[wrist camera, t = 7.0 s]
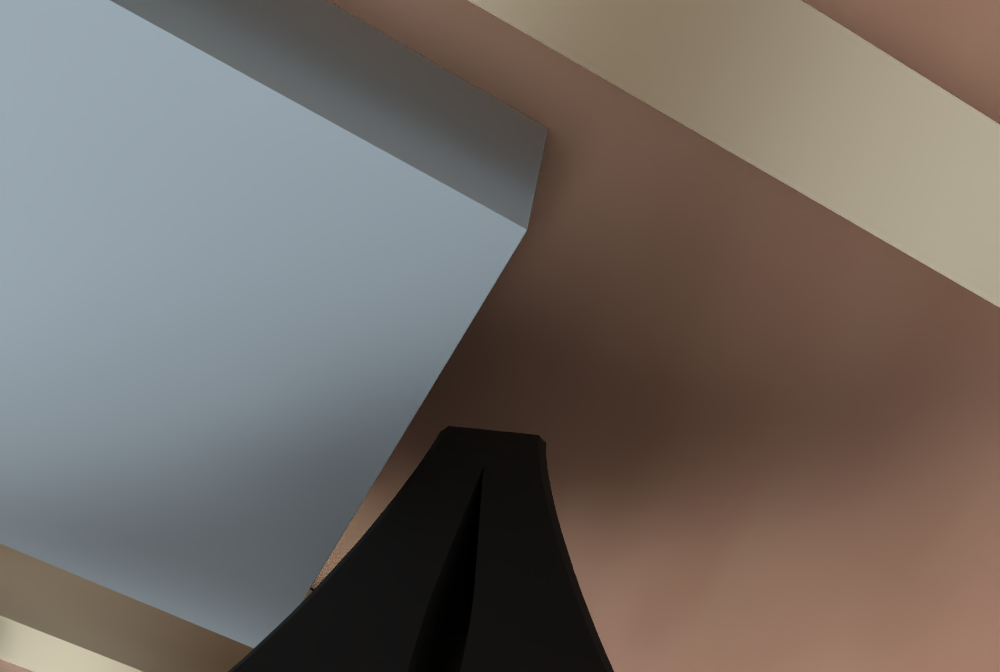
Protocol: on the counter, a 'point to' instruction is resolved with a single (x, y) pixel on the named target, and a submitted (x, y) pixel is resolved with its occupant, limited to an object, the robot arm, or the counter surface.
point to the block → (229, 283)
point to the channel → (716, 116)
